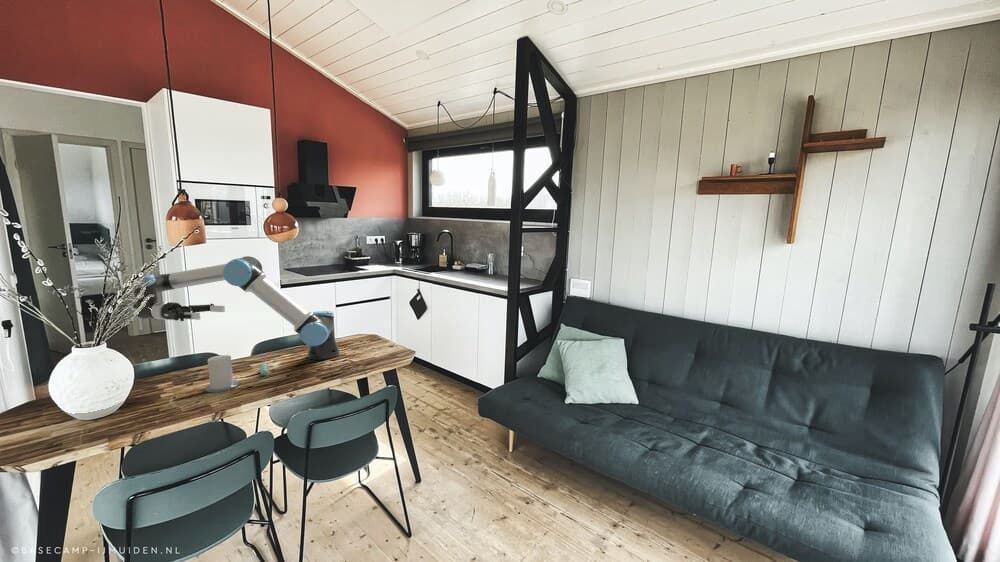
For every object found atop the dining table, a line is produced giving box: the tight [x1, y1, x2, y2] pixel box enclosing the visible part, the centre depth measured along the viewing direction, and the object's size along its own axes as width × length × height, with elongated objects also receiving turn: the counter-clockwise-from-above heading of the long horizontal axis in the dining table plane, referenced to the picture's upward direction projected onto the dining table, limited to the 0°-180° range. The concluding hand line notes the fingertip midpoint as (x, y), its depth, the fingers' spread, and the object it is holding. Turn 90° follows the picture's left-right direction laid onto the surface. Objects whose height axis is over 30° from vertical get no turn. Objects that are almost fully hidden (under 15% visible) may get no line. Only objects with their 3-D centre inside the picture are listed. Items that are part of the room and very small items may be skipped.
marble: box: [260, 369, 269, 376], centre depth 190 cm, size 3×3×3 cm
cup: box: [207, 354, 234, 390], centre depth 176 cm, size 8×8×12 cm
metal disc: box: [204, 379, 240, 394], centre depth 177 cm, size 12×12×1 cm
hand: (212, 312), depth 181 cm, fingers open, 13 cm apart
